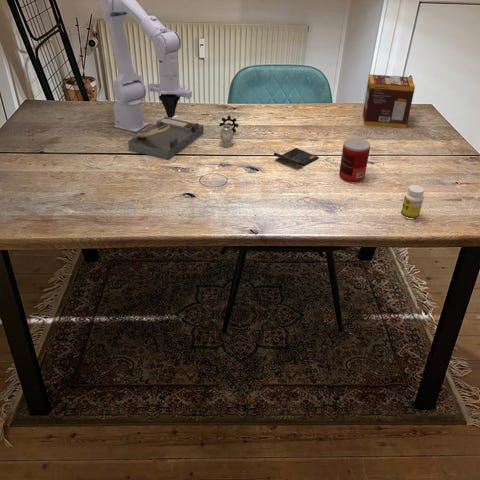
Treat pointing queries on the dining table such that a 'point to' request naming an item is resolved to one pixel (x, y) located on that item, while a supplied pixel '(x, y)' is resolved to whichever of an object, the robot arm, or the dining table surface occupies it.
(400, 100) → the supplement box
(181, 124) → the steel strap
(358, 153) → the canned food
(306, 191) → the dining table surface
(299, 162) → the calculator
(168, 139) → the grey flat block
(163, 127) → the brass strap
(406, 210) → the supplement bottle
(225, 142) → the valve
